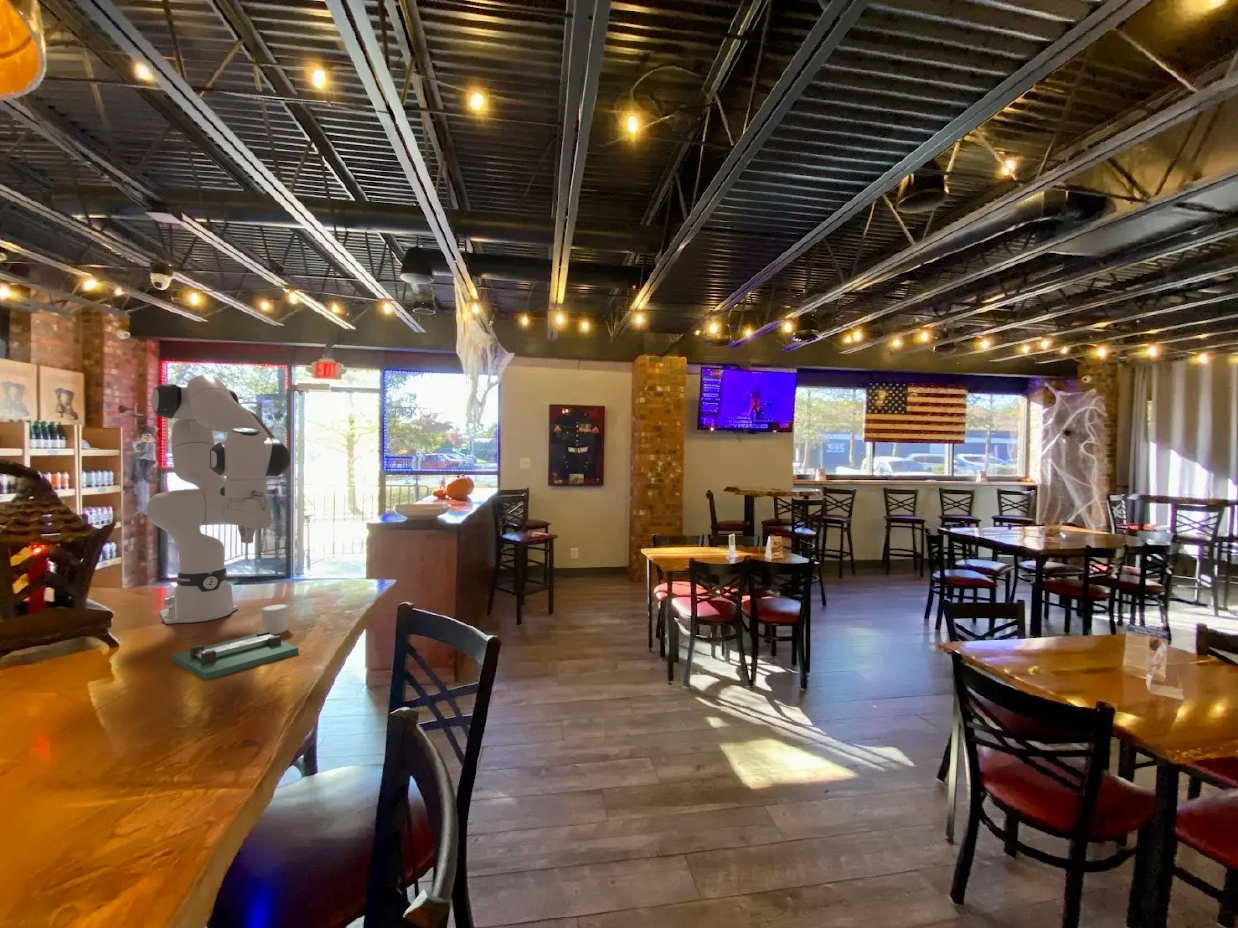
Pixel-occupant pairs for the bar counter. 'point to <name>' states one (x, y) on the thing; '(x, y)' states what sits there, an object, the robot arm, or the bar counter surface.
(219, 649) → the steel strap
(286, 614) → the white cylinder
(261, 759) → the bar counter surface
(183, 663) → the board
